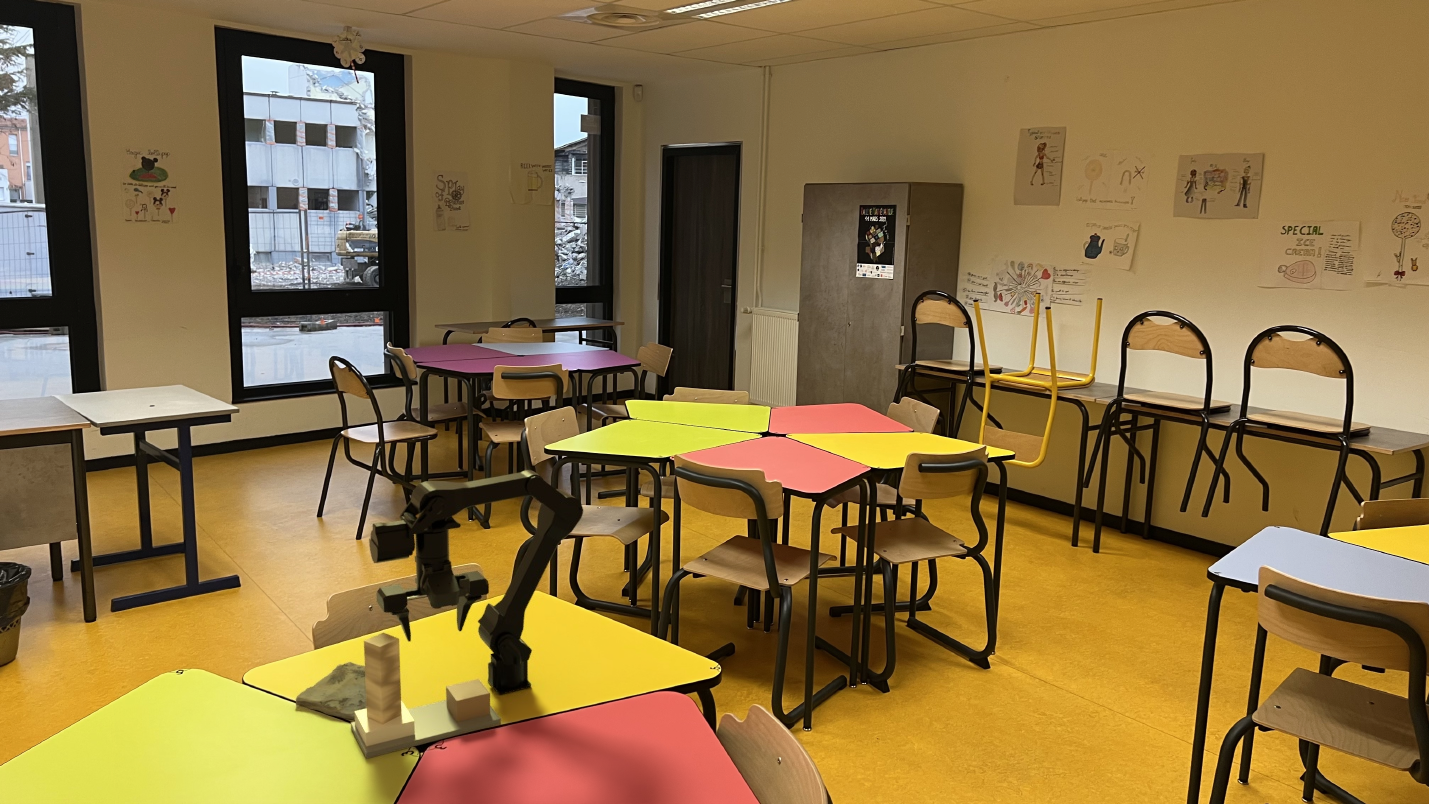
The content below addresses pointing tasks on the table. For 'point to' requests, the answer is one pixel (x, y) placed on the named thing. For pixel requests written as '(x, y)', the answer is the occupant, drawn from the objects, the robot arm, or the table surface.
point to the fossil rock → (337, 692)
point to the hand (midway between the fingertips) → (434, 635)
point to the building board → (428, 720)
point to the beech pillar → (382, 677)
